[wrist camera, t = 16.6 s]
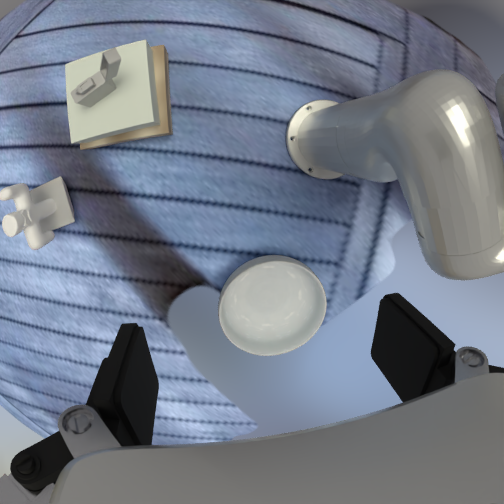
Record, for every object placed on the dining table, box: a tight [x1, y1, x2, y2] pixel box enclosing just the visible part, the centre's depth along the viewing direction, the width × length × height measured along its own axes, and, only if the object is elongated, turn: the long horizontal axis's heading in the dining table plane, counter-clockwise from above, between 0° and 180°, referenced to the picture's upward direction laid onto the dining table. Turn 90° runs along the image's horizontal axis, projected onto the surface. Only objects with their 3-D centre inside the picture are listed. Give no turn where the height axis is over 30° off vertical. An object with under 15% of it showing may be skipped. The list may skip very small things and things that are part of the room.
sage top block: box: [65, 40, 161, 143], centre depth 31 cm, size 11×11×5 cm
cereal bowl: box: [218, 255, 326, 356], centre depth 48 cm, size 17×17×7 cm
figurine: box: [0, 177, 75, 250], centre depth 34 cm, size 7×9×15 cm
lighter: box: [71, 47, 121, 107], centre depth 25 cm, size 7×2×8 cm, turn 118°
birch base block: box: [80, 45, 173, 150], centre depth 36 cm, size 13×13×5 cm
